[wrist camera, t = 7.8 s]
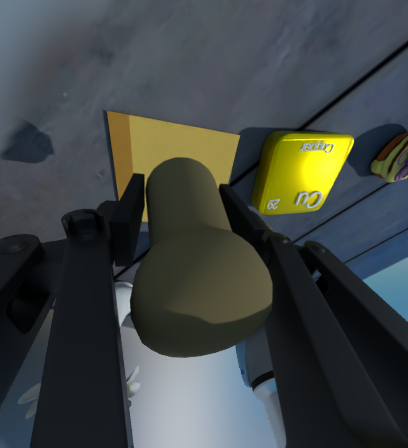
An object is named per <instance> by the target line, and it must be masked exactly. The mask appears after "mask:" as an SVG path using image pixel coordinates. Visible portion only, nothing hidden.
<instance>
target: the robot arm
mask: <svg viewBox="0 0 408 448" xmlns="http://www.w3.org/2000/svg"><path fill="white" fill-rule="evenodd" d="M218 190H219V193H220V196H221V200H222V203H223V206H224V209H225V212H226V215H227V218H228V221H229V224H230V227H231V230H232V232H233V233H235V234H237V235H238V236H240V237H241V238H243V239H244V240H246V241H247V242H248V243H249V244H250V245H252V246H253V247H254V249H255V250H256V252H257V253H258V255H259V256H260V258H261V259H262V261H263V262H264V264H265V266H266V267H267V269H268V271H269V274H270V277H271V280H272V283H273V286H272V311H271V312H270V314H269V316H268V318H267V319H266V321H265V322H264V324H263V326H262V327H261V328H260V329H259V330H258V331H257V332H256V333H255V334H253V335H252V336H250V337H249V338H247V339H246V340H244V341H243V342H241V343H239V344H236V353H237V358H238V364H239V368H240V370H241V375H242V378H243V381H244V383H245V385H246V386H247V387H250V388H251V387H252V389H253V393H254V395H255V396H256V397H257V398H258V399H259V400H261V401H262V402H263V404H264V407H265V410H266V413H267V416H268V419H269V422H270V425H271V428H272V431H273V434H274V438H275V440H276V444H277V447H278V448H408V322H407V321H406V320H405V319H404V318H403V317H402V316H401V315H399V314H398V313H397V312H396V311H395V310H394V309H393V308H392V307H390V305H388V304H387V303H386V302H385V301H384V300H383V299H382V298H381V297H380V296H379V295H378V294H376V293H375V292H374V291H373V290H372V289H371V288H370V287H369V286H368V285H367V284H365V283H364V282H363V281H362V280H361V279H360V278H359V277H358V276H357V275H356V274H354V273H353V272H352V271H351V270H350V269H349V268H348V267H347V266H346V265H345V264H343V263H342V262H341V261H340V260H339V259H338V258H337V257H336V256H335V255H334V254H333V253H331V252H330V251H329V250H328V249H327V248H326V247H324V246H323V245H321V244H320V243H318V242H315V241H306V242H305V243H304V245H303V246H298V245H294V244H293V242H292V241H291V240H290V239H289V238H288V237H286V236H285V235H283V234H280V233H276V232H273V231H272V230H271V229H270V228H269V227H268V226H267V224H266V223H265V222H264V221H263V220H262V219H261V218H260V217H259V215H258V214H256V213H255V212H253V211H250V209H249V208H248V207H247V206H246V205H245V204H244V202H243V201H242V200H241V199H240V198H239V197H238V195H237V194H236V193H235V192H234V191H233V189H232V188H231V187H230V186H229V185H228V184H222V183H220V185H219V189H218ZM144 208H145V174H140V173H133V175H132V177H131V179H130V181H129V183H128V185H127V187H126V189H125V191H124V193H123V195H122V197H121V199H120V201H108V200H107V201H105V202H103V203H101V204H100V205H99V207H98V208H97V210H93V209H81V210H75V211H72V212H69V213H67V214H65V215H64V216H63V217H62V219H61V221H62V224H63V227H64V230H65V233H66V235H67V239H63V240H58V241H52V242H45V243H41V242H40V240H39V238H38V237H36V236H34V235H29V234H21V235H13V236H8V237H5V238H2V239H0V408H1V406H2V404H3V402H4V400H5V398H6V396H7V394H8V392H9V390H10V388H11V386H12V383H13V382H14V380H15V378H16V376H17V374H18V371H19V370H20V368H21V366H22V364H23V362H24V360H25V358H26V356H27V354H28V352H29V350H30V348H31V346H32V344H33V342H34V340H35V338H36V336H37V334H38V332H39V330H40V328H41V326H42V324H43V322H44V320H45V318H46V316H47V314H48V312H49V310H50V308H51V306H52V304H53V302H54V300H55V298H56V302H55V308H54V314H53V319H52V325H51V330H50V336H49V342H48V347H47V353H46V359H45V364H44V370H43V376H42V381H41V387H40V392H39V398H38V404H37V409H36V415H35V420H34V427H33V432H32V437H31V443H30V448H134V446H133V437H132V428H131V419H130V411H129V402H128V394H127V385H126V377H125V368H124V360H123V351H122V342H121V335H120V325H119V317H118V308H117V300H116V291H115V283H114V274H113V268H112V266H113V263H114V260H115V265H116V267H120V266H132V264H133V259H134V254H135V250H136V245H137V240H138V236H139V231H140V226H141V222H142V217H143V212H144ZM317 271H319V272H320V273H321V277H320V278H319V279H318V280H317V281H316V282H315V281H314V279H313V276H314V274H315V273H316V272H317ZM56 296H57V297H56Z"/></svg>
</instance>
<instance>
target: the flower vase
mask: <svg viewBox="0 0 408 448" xmlns="http://www.w3.org/2000/svg"><path fill="white" fill-rule="evenodd" d="M132 287H133V285H132V284H130V283H128V282H123V281H121V282H115V291H116V300H117V308H118V317H119V325H120V327H121V324H122V322H123V320H124V318H125V317H126V315H127V314H129V313H130V312H131V311H130V297H131V292H132ZM138 370H139V366H137V367H136V369H135V370H134V371H133V373H132V374H131V375H130V376H129V378H128V379H127V380H126V385H127V394H128V398H131V397H132V396H134V395H135V394H136V393H137V391H138V390H139V388H140V385H141V383H140V382H134V383H131V382H133V380H134V379H135V377H136V375H137V373H138ZM129 383H130V384H129ZM40 387H41V383H39V384H37V385H35V386H34V387H32V388H31V389H29V390H28V391H27V392H26V393H25V394H24V395H23V396H22V397H21V398H20V399H19V401H18V404H24V403H27V402H29V401H31V400H33V399H36V398H39V392H40ZM128 402H129V407H130V406H131V401H129V400H128ZM37 404H38V399H37V400H36V401H35V402H34V403H33V405H32V406H31V407H30V409H29V411H28V412H27V414H26V419H27V418H30V417H31V416H32V415H33V414H34V413H35V412H36V409H37Z"/></svg>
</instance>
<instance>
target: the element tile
mask: <svg viewBox="0 0 408 448" xmlns="http://www.w3.org/2000/svg"><path fill="white" fill-rule="evenodd" d="M353 143H354V139H353V137H352V136H351V135H348V134H341V133H334V132H309V131H275V132H273V133H271V134H269V135H268V136H267V138H266V140H265V142H264V145H263V149H262V154H261V158H260V163H259V167H258V172H257V176H256V181H255V185H254V189H253V194H252V198H251V202H252V205H253V206H254V207H255V208H256V209H257V210H258V211H259V212H260V213H261V214H262V215H279V214H292V213H305V212H313V211H316V210H318V209H319V208H320V207H321V206H322V205H323V203H324V201H325V199H326V197H327V195H328V194H329V192H330V190H331V188H332V186H333V184H334V182H335V180H336V178H337V176H338V174H339V172H340V170H341V168H342V166H343V164H344V162H345V160H346V159H347V157H348V155H349V153H350V151H351V149H352V146H353Z"/></svg>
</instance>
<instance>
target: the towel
mask: <svg viewBox="0 0 408 448" xmlns="http://www.w3.org/2000/svg"><path fill="white" fill-rule="evenodd" d="M107 115H108V123H109V130H110V138H111V145H112V153H113V160H114V168H115V175H116V183H117V190H118V198H119V201H120V199H121V197H122V195H123V193H124V191H125V189H126V187H127V185H128V183H129V181H130V179H131V177H132V175H133V173H140V174H145V188H146V183H147V178H148V177H149V175H150V174H151V172H152V171H153V169H154V168H155V167H156V166H158V165H159V164H160V163H162V162H163V161H165V160H168V159H172V158H175V157H188V158H191V159H194V160H196V161H199V162H201V163H202V164H203V165H204V166H206V167H207V168H208V169H209V170H210V172H211V174H212V175H213V177H214V178H215V181H216V184H217V187H218V189H219V185H220V183H222V184H228V181H229V177H230V173H231V169H232V165H233V161H234V157H235V154H236V150H237V146H238V142H239V138H240V135H236V134H231V133H225V132H220V131H215V130H209V129H204V128H198V127H193V126H188V125H182V124H177V123H171V122H166V121H161V120H155V119H150V118H144V117H139V116H134V115H128V114H123V113H117V112H112V111H107ZM142 221H146V222H148V217H147V206H146V194H145V208H144V212H143V217H142Z"/></svg>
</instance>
